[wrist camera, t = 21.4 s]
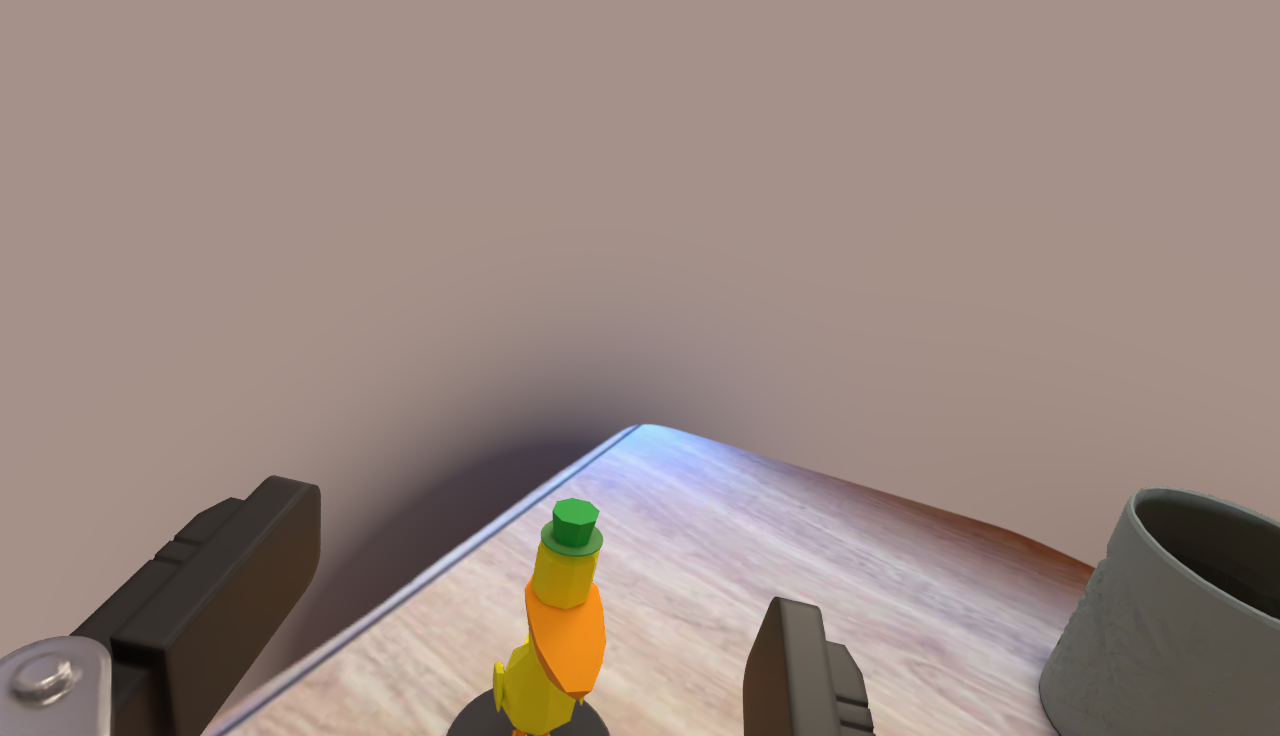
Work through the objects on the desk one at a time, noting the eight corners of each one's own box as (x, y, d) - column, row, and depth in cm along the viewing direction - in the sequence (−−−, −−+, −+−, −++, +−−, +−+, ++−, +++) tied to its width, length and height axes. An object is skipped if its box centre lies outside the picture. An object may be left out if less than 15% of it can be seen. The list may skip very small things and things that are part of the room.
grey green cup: (1264, 771, 36) (1429, 600, 30) (1197, 879, 30) (1387, 689, 24) (1069, 627, 43) (1175, 466, 37) (983, 692, 37) (1094, 511, 31)
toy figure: (588, 842, 26) (657, 605, 21) (489, 855, 25) (535, 609, 19) (563, 684, 32) (611, 466, 26) (481, 689, 30) (515, 463, 25)
